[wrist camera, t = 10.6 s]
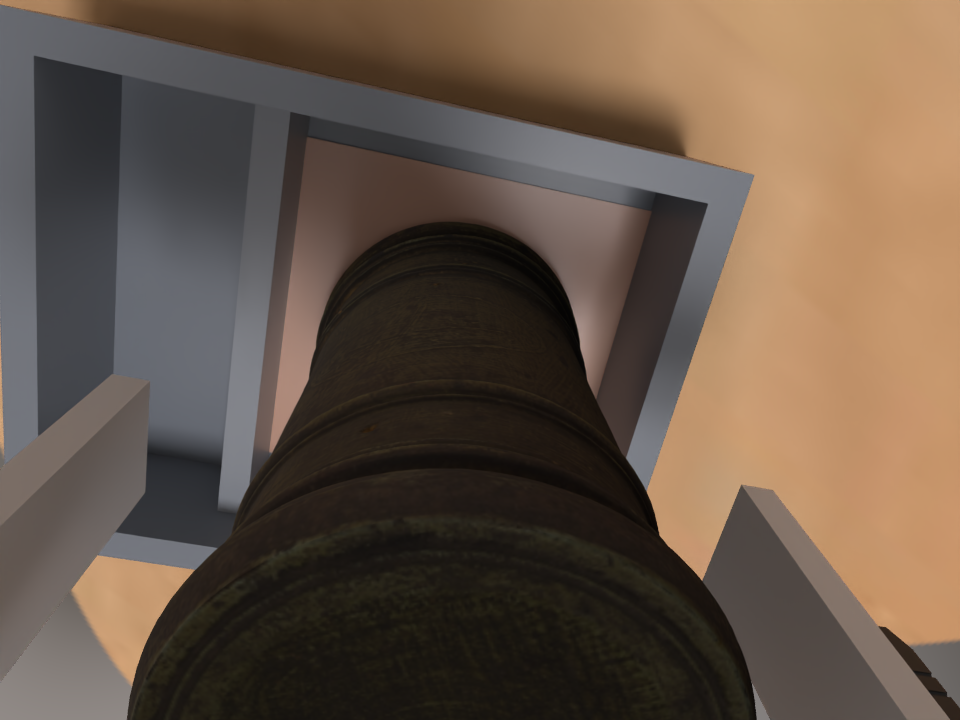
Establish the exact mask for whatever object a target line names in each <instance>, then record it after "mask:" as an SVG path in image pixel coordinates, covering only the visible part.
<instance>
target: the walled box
mask: <svg viewBox="0 0 960 720" xmlns="http://www.w3.org/2000/svg"><path fill="white" fill-rule="evenodd" d="M753 178H754V175H752V174H749V173H745V172H741V171H738V170H734V169H730V168H727V167H723V166H719V165H716V164H712V163H708V162H705V161H701V160H697V159H694V158H690V157H686V156H682V155H677V154H673V153H668V152H664V151H659V150H655V149H651V148H646V147H642V146H637V145H633V144H629V143H624V142H620V141H615V140H611V139H606V138H602V137H598V136H593V135H589V134H584V133H580V132H575V131H571V130H567V129H562V128H558V127H553V126H549V125H544V124H540V123H536V122H531V121H527V120H522V119H518V118H514V117H509V116H505V115H500V114H496V113H491V112H487V111H483V110H478V109H474V108H469V107H465V106H460V105H456V104H452V103H447V102H443V101H438V100H434V99H430V98H425V97H421V96H416V95H412V94H407V93H403V92H399V91H394V90H390V89H385V88H381V87H376V86H372V85H368V84H363V83H359V82H354V81H350V80H346V79H341V78H337V77H332V76H328V75H323V74H319V73H315V72H310V71H306V70H301V69H297V68H292V67H288V66H284V65H279V64H275V63H270V62H266V61H261V60H257V59H253V58H248V57H244V56H239V55H235V54H231V53H226V52H222V51H217V50H213V49H208V48H204V47H200V46H195V45H191V44H186V43H182V42H177V41H173V40H169V39H164V38H160V37H155V36H151V35H147V34H142V33H138V32H133V31H129V30H124V29H120V28H116V27H111V26H107V25H102V24H97V23H92V22H86V21H81V20H76V19H71V18H66V17H61V16H56V15H51V14H46V13H41V12H35V11H30V10H25V9H20V8H15V7H10V6H5V5H0V327H1V359H2V392H3V425H4V458H5V464H6V463H8V462H9V461H10V460H11V459H12V458H13V457H15V456H16V455H17V454H18V453H19V452H21V451H22V450H23V449H24V448H25V447H26V446H28V445H29V444H30V443H31V442H32V441H34V440H35V439H36V438H37V437H38V436H40V435H41V434H42V433H43V432H44V431H45V430H47V429H48V428H49V427H50V426H51V425H53V424H54V423H55V422H56V421H57V420H58V419H60V418H61V417H62V416H63V415H64V414H66V413H67V412H68V411H69V410H70V409H72V408H73V407H74V406H75V405H76V404H77V403H79V402H80V401H81V400H82V399H83V398H85V397H86V396H87V395H88V394H89V393H90V392H92V391H93V390H94V389H95V388H96V387H98V386H99V385H100V384H101V383H102V382H104V381H105V380H106V379H107V378H108V377H109V376H111V375H112V374H114V375H120V376H126V377H131V378H137V379H143V380H148V381H150V397H149V419H148V442H147V465H146V487H145V493H144V495H143V496H142V497H141V499H140V500H139V501H138V503H137V504H136V505H135V507H134V508H133V509H132V510H131V512H130V513H129V514H128V516H127V517H126V518H125V520H124V521H123V522H122V524H121V525H120V526H119V527H118V529H117V530H116V531H115V533H114V534H113V535H112V537H111V538H110V539H109V541H108V542H107V543H106V545H105V546H104V547H103V548H102V550H101V551H100V552H99V554H98V555H100V556H107V557H114V558H120V559H127V560H134V561H140V562H147V563H154V564H160V565H167V566H174V567H180V568H187V569H194V570H196V569H197V568H198V567H199V566H200V565H201V564H202V563H203V562H204V561H205V560H206V559H207V558H208V557H209V556H210V555H211V554H212V553H213V552H214V551H215V550H216V549H217V548H219V547H220V546H221V545H222V544H223V543H225V542H226V540H227V539H228V538H229V536H230V535H231V533H232V528H233V525H234V521H235V517H236V514H237V511H238V508H239V506H240V503H241V501H242V499H243V496H244V494H245V492H246V490H247V489H248V487H249V485H250V483H251V482H252V480H253V479H254V477H255V476H256V474H257V473H258V471H259V470H260V469H261V467H262V466H263V465H264V463H265V462H266V461H267V460H268V459H269V457H270V456H271V454H272V452H273V450H274V448H275V446H276V444H277V442H278V440H279V438H280V436H281V434H282V432H283V430H284V428H285V426H286V424H287V422H288V420H289V418H290V416H291V414H292V412H293V410H294V408H295V406H296V404H297V402H298V400H299V398H300V396H301V394H302V392H303V390H304V388H305V386H306V384H307V382H308V380H309V372H310V366H311V361H312V357H313V354H314V351H315V349H316V338H317V333H318V328H319V324H320V321H321V318H322V316H323V313H324V310H325V307H326V304H327V302H328V299H329V297H330V295H331V293H332V291H333V289H334V287H335V286H336V284H337V282H338V281H339V279H340V278H341V277H342V275H343V274H344V272H345V271H346V270H347V269H348V268H349V266H350V265H351V264H352V263H353V262H354V261H355V260H356V259H357V258H358V257H359V256H360V255H362V254H363V253H364V252H365V251H366V250H368V249H369V248H370V247H372V246H373V245H374V244H376V243H378V242H379V241H381V240H383V239H384V238H386V237H388V236H390V235H392V234H394V233H397V232H399V231H401V230H404V229H407V228H410V227H414V226H417V225H422V224H427V223H434V222H463V223H470V224H477V225H482V226H486V227H489V228H492V229H495V230H498V231H500V232H503V233H505V234H507V235H509V236H511V237H513V238H515V239H517V240H519V241H520V242H522V243H524V244H525V245H526V246H528V247H529V248H530V249H532V250H533V251H534V252H536V253H537V254H538V255H539V256H540V257H541V258H542V259H543V260H544V261H545V262H546V263H547V265H548V266H549V267H550V268H551V269H552V271H553V272H554V273H555V275H556V276H557V278H558V279H559V281H560V283H561V284H562V286H563V288H564V290H565V292H566V294H567V296H568V299H569V301H570V304H571V307H572V311H573V315H574V318H575V321H576V324H577V328H578V332H579V338H580V349H581V352H582V355H583V359H584V363H585V368H586V374H587V381H588V383H589V386H590V388H591V390H592V392H593V394H594V396H595V399H596V401H597V403H598V405H599V407H600V409H601V411H602V413H603V415H604V417H605V419H606V421H607V423H608V425H609V427H610V429H611V431H612V433H613V436H614V438H615V440H616V442H617V445H618V447H619V449H620V451H621V453H622V454H623V455H624V456H625V458H626V459H627V460H628V462H629V463H630V464H631V466H632V467H633V469H634V470H635V472H636V474H637V475H638V477H639V479H640V480H641V482H642V484H643V485H644V487H645V489H646V491H647V488H648V485H649V482H650V479H651V476H652V473H653V470H654V467H655V465H656V462H657V459H658V456H659V453H660V450H661V447H662V444H663V441H664V438H665V435H666V432H667V429H668V426H669V424H670V421H671V418H672V415H673V412H674V409H675V406H676V403H677V400H678V397H679V394H680V391H681V388H682V385H683V383H684V380H685V377H686V374H687V371H688V368H689V365H690V362H691V359H692V356H693V353H694V350H695V347H696V345H697V342H698V339H699V336H700V333H701V330H702V327H703V324H704V321H705V318H706V315H707V312H708V309H709V306H710V304H711V301H712V298H713V295H714V292H715V289H716V286H717V283H718V280H719V277H720V274H721V271H722V268H723V266H724V263H725V260H726V257H727V254H728V251H729V248H730V245H731V242H732V239H733V236H734V233H735V230H736V227H737V225H738V222H739V219H740V216H741V213H742V210H743V207H744V204H745V201H746V198H747V195H748V192H749V189H750V186H751V184H752V181H753Z"/></svg>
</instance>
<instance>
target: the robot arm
mask: <svg viewBox="0 0 960 720" xmlns="http://www.w3.org/2000/svg"><path fill="white" fill-rule="evenodd" d="M149 397H150V381H148V380H143V379H137V378H131V377H126V376H120V375H114V374H112V375H111V376H109V377H108V378H107V379H106V380H105V381H104V382H102V383H101V384H100V385H99V386H98V387H96V388H95V389H94V390H93V391H92V392H90V393H89V394H88V395H87V396H86V397H85V398H83V399H82V400H81V401H80V402H79V403H77V404H76V405H75V406H74V407H73V408H72V409H70V410H69V411H68V412H67V413H66V414H64V415H63V416H62V417H61V418H60V419H58V420H57V421H56V422H55V423H54V424H53V425H51V426H50V427H49V428H48V429H47V430H45V431H44V432H43V433H42V434H41V435H40V436H38V437H37V438H36V439H35V440H34V441H32V442H31V443H30V444H29V445H28V446H26V447H25V448H24V449H23V450H22V451H21V452H19V453H18V454H17V455H16V456H15V457H13V458H12V459H11V460H10V461H9V462H8V463H6V464H5V465H4V466H3V467H2V468H1V469H0V682H1V681H2V680H3V678H4V677H5V676H6V674H7V673H8V672H9V670H10V669H11V668H12V666H13V665H14V664H15V663H16V661H17V660H18V659H19V657H20V656H21V655H22V653H23V652H24V651H25V649H26V648H27V647H28V646H29V644H30V643H31V642H32V640H33V639H34V638H35V636H36V635H37V634H38V632H39V631H40V630H41V628H42V627H43V626H44V625H45V623H46V622H47V621H48V619H49V618H50V616H51V615H52V614H53V613H54V611H55V610H56V609H57V607H58V606H59V605H60V604H61V602H62V601H63V600H64V598H65V597H66V596H67V594H68V593H69V592H70V590H71V589H72V588H73V587H74V585H75V584H76V583H77V581H78V580H79V579H80V577H81V576H82V575H83V573H84V572H85V571H86V569H87V568H88V567H89V566H90V564H91V563H92V562H93V560H94V559H95V558H96V556H97V555H98V554H99V552H100V551H101V550H102V548H103V547H104V546H105V545H106V543H107V542H108V541H109V539H110V538H111V537H112V535H113V534H114V533H115V531H116V530H117V529H118V527H119V526H120V525H121V524H122V522H123V521H124V520H125V518H126V517H127V516H128V514H129V513H130V512H131V510H132V509H133V508H134V507H135V505H136V504H137V503H138V501H139V500H140V499H141V497H142V496H143V495H144V493H145V487H146V465H147V442H148V419H149ZM703 583H704V584H705V585H706V587H707V588H708V590H709V591H710V592H711V594H712V595H713V597H714V598H715V599H716V601H717V602H718V604H719V606H720V607H721V609H722V610H723V612H724V614H725V615H726V617H727V619H728V621H729V623H730V625H731V627H732V628H733V631H734V633H735V636H736V638H737V641H738V643H739V645H740V647H741V650H742V652H743V655H744V658H745V661H746V664H747V668H748V671H749V674H750V678H751V681H752V683H753V685H754V687H755V689H756V691H757V693H758V695H759V698H760V700H761V702H762V704H763V706H764V707H765V710H766V712H767V714H768V716H769V718H770V720H960V708H959V707H958V706H957V704H956V703H955V702H954V701H953V699H952V698H951V697H947V692H946V691H945V689H944V688H943V687H942V686H941V684H940V683H939V682H938V681H937V679H936V678H933V677H932V676H931V672H930V671H929V669H928V668H927V667H926V666H925V664H924V663H923V662H922V661H921V659H920V658H919V657H918V656H917V654H916V653H915V652H914V651H913V649H911V648H910V647H909V646H908V645H907V644H905V643H904V642H903V641H902V640H901V639H899V638H898V637H897V636H896V635H895V634H893V633H892V632H891V631H890V630H889V629H887V628H886V627H880V626H877V624H876V623H875V622H874V620H873V619H872V618H871V617H870V615H869V614H868V613H867V611H866V610H865V609H864V608H863V606H862V605H861V604H860V602H859V601H858V600H857V598H856V597H855V596H854V595H853V593H852V592H851V591H850V589H849V588H848V587H847V586H846V584H845V583H844V582H843V580H842V579H841V578H840V576H839V575H838V574H837V573H836V571H835V570H834V569H833V567H832V566H831V565H830V564H829V562H828V561H827V560H826V558H825V557H824V556H823V554H822V553H821V552H820V551H819V549H818V548H817V547H816V545H815V544H814V543H813V542H812V540H811V539H810V538H809V536H808V535H807V534H806V532H805V531H804V530H803V529H802V527H801V526H800V525H799V523H798V522H797V521H796V520H795V518H794V517H793V516H792V514H791V513H790V512H789V510H788V509H787V508H786V507H785V505H784V504H783V503H782V501H781V500H780V499H779V498H778V496H777V495H776V494H775V492H774V491H773V490H769V489H763V488H758V487H752V486H746V485H741V487H740V489H739V492H738V494H737V497H736V499H735V502H734V504H733V507H732V509H731V512H730V514H729V517H728V519H727V521H726V524H725V526H724V529H723V531H722V534H721V536H720V539H719V541H718V544H717V546H716V549H715V551H714V554H713V556H712V558H711V561H710V563H709V566H708V568H707V571H706V573H705V576H704V578H703Z"/></svg>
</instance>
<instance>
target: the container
mask: <svg viewBox="0 0 960 720" xmlns="http://www.w3.org/2000/svg"><path fill="white" fill-rule="evenodd" d="M127 720H757V718H756V709H755V700H754V694H753V688H752V683H751V678H750V674H749V671H748V668H747V664H746V661H745V658H744V655H743V652H742V650H741V647H740V645H739V643H738V641H737V638H736V636H735V633H734V631H733V628H732V627H731V625H730V623H729V621H728V619H727V617H726V615H725V614H724V612H723V610H722V609H721V607H720V606H719V604H718V602H717V601H716V599H715V598H714V597H713V595H712V594H711V592H710V591H709V590H708V588H707V587H706V585H705V584H704V583H703V582H702V580H701V579H700V578H699V577H698V576H697V574H696V573H695V572H694V571H693V570H692V569H691V568H690V567H689V566H688V565H687V564H686V563H685V562H684V561H683V560H682V559H681V558H680V557H679V556H678V555H677V554H676V553H675V552H674V551H673V550H672V549H671V548H670V547H668V546H667V544H666V543H665V542H664V540H663V539H662V538H661V537H660V536H659V531H658V526H657V522H656V518H655V513H654V510H653V507H652V504H651V501H650V499H649V496H648V494H647V492H646V489H645V487H644V485H643V484H642V482H641V480H640V479H639V477H638V475H637V474H636V472H635V470H634V469H633V467H632V466H631V464H630V463H629V462H628V460H627V459H626V458H625V456H624V455H623V454H622V453H621V451H620V449H619V447H618V445H617V442H616V440H615V438H614V436H613V433H612V431H611V429H610V427H609V425H608V423H607V421H606V419H605V417H604V415H603V413H602V411H601V409H600V407H599V405H598V403H597V401H596V399H595V396H594V394H593V392H592V390H591V388H590V386H589V383H588V381H587V374H586V368H585V363H584V359H583V355H582V352H581V349H580V338H579V332H578V328H577V324H576V321H575V318H574V315H573V311H572V307H571V304H570V301H569V299H568V296H567V294H566V292H565V290H564V288H563V286H562V284H561V283H560V281H559V279H558V278H557V276H556V275H555V273H554V272H553V271H552V269H551V268H550V267H549V266H548V265H547V263H546V262H545V261H544V260H543V259H542V258H541V257H540V256H539V255H538V254H537V253H536V252H534V251H533V250H532V249H530V248H529V247H528V246H526V245H525V244H524V243H522V242H520V241H519V240H517V239H515V238H513V237H511V236H509V235H507V234H505V233H503V232H500V231H498V230H495V229H492V228H489V227H486V226H482V225H477V224H470V223H463V222H434V223H427V224H422V225H417V226H414V227H410V228H407V229H404V230H401V231H399V232H397V233H394V234H392V235H390V236H388V237H386V238H384V239H383V240H381V241H379V242H378V243H376V244H374V245H373V246H372V247H370V248H369V249H368V250H366V251H365V252H364V253H363V254H362V255H360V256H359V257H358V258H357V259H356V260H355V261H354V262H353V263H352V264H351V265H350V266H349V268H348V269H347V270H346V271H345V272H344V274H343V275H342V277H341V278H340V279H339V281H338V282H337V284H336V286H335V287H334V289H333V291H332V293H331V295H330V297H329V299H328V302H327V304H326V307H325V310H324V313H323V316H322V318H321V321H320V324H319V328H318V333H317V338H316V349H315V351H314V354H313V357H312V361H311V366H310V372H309V380H308V382H307V384H306V386H305V388H304V390H303V392H302V394H301V396H300V398H299V400H298V402H297V404H296V406H295V408H294V410H293V412H292V414H291V416H290V418H289V420H288V422H287V424H286V426H285V428H284V430H283V432H282V434H281V436H280V438H279V440H278V442H277V444H276V446H275V448H274V450H273V452H272V454H271V456H270V457H269V459H268V460H267V461H266V462H265V463H264V465H263V466H262V467H261V469H260V470H259V471H258V473H257V474H256V476H255V477H254V479H253V480H252V482H251V483H250V485H249V487H248V489H247V490H246V492H245V494H244V496H243V499H242V501H241V503H240V506H239V508H238V511H237V514H236V517H235V521H234V525H233V528H232V533H231V535H230V536H229V538H228V539H227V540H226V542H225V543H223V544H222V545H221V546H220V547H219V548H217V549H216V550H215V551H214V552H213V553H212V554H211V555H210V556H209V557H208V558H207V559H206V560H205V561H204V562H203V563H202V564H201V565H200V566H199V567H198V568H197V569H196V570H195V571H194V572H193V573H192V574H191V575H190V577H189V578H188V579H187V580H186V581H185V582H184V583H183V585H182V586H181V587H180V588H179V590H178V591H177V592H176V593H175V595H174V596H173V597H172V599H171V600H170V601H169V603H168V604H167V606H166V608H165V609H164V611H163V613H162V614H161V616H160V617H159V618H158V620H157V622H156V624H155V626H154V628H153V630H152V632H151V634H150V636H149V638H148V640H147V642H146V644H145V647H144V649H143V652H142V654H141V657H140V660H139V663H138V666H137V669H136V674H135V678H134V682H133V686H132V690H131V694H130V699H129V707H128V716H127Z"/></svg>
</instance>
